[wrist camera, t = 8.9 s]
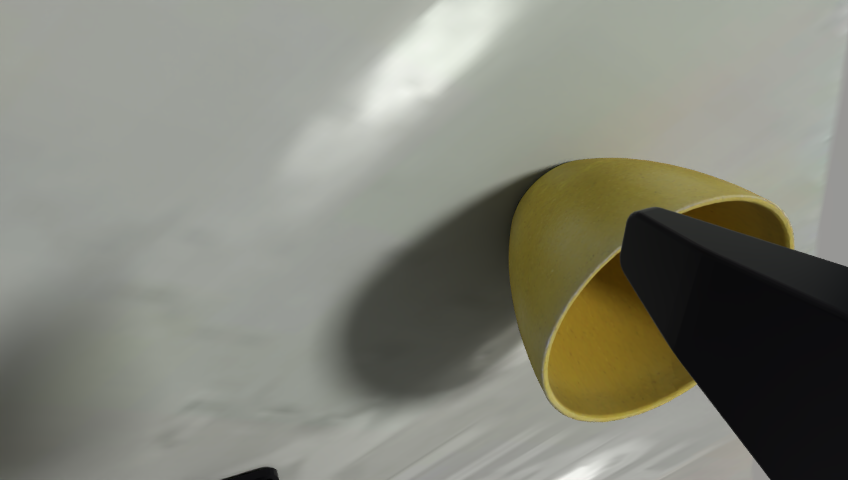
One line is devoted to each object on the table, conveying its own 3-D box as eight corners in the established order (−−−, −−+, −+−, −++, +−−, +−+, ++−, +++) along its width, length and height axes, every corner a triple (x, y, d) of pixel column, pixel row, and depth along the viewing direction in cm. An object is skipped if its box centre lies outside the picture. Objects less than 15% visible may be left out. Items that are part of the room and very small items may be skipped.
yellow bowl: (648, 267, 32) (756, 370, 26) (461, 331, 29) (538, 458, 24) (682, 76, 25) (833, 159, 20) (448, 138, 23) (548, 251, 18)
